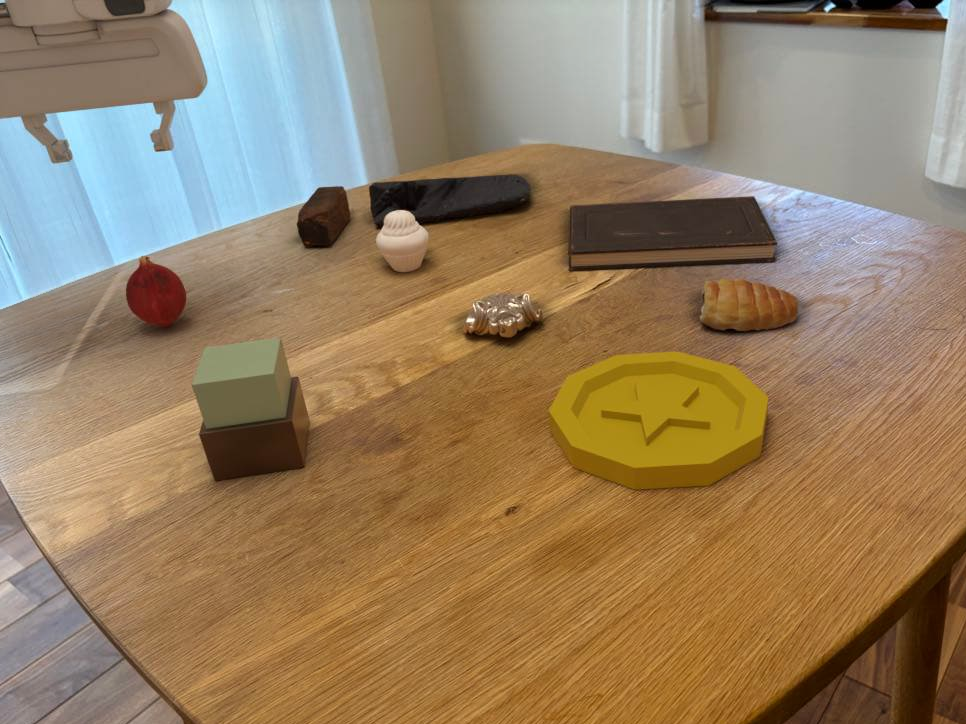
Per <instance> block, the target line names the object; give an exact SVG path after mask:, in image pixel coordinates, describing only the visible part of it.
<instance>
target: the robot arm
mask: <svg viewBox="0 0 966 724" xmlns="http://www.w3.org/2000/svg"><path fill="white" fill-rule="evenodd" d="M172 3H173V0H4V2H0V120H3V119H13V118H21V121H22V124H23V127H24V129H25V130H26V131H27V132H28V133H29V134H30V135H31V136H32V137H33V138H34V139H36V141H38V142H39V143H40V144H41V145H42V147H43V146H44V147H45V149H46V151H47V154H48V156H49V159H50V162H51V163H52V164H62V163H69V162H71V160H73V158H74V155H73V152H72V150H71V149H70V143H69V140H68V139H58V138H57V137H56V136H55V135H54V133H52V131H51V130H49V128H47V126H45V124H46V123H47V122H48V117H47V115H51V114H58V113H69V112H78V111H88V110H96V109H106V108H107V109H108V108H116V107H125V106H135V105H143V104H144V105H145V104H152V105H153V108H154V111H155V114H156V115H162V118H161V120H160V125H159V128H157V129H153V130H152V132H150V133H149V137H150V140H151V142H152V143H153V145H152V146H153V150H154V152H155V153H160V152H161V153H162V152H171V151H173V149H174V148H175V143H174V140H173V137H172V133H171V128H172V123H173V120H174V116H175V113H176V110H177V107H176V104H175V101H182V100H190V99H191V100H193V99H197V98H199V97H200V96H201V95H202V94H203V93H204V91H205V89H206V88H207V85H208V82H209V81H208V75H207V70H206V67H205V64H204V61H203V58H202V55H201V52H200V49H199V47H198V45H197V42H196V39H195V37H194V35H193V33H192V30H191V28H190V26H189V24H188V23H187V22H186V20H185V19H184V18H183V17H182V15H180V14H179V13H178V12H176V11H174V10H173V9H169V7H171V5H172Z"/></svg>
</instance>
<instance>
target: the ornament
mask: <svg viewBox="0 0 966 724" xmlns="http://www.w3.org/2000/svg"><path fill="white" fill-rule="evenodd" d="M471 305H472V308H471V310H469V313H468V314H467V316H466V319H465V321H464V323H463V326H462V331H463V333H464V334H468V333H469V334H474V333H475V335H477V336H480V337H481V336H485V335H486V334H488V333H489V334H490V335H493V336H496V335H498V334H499V336H500V337H502V338H512V337H514V336H516V335H517V334H518V332H521V331H522V330H523V329H525V328H528V329H529V328H530V327H531V326H532V323H539V322H540V321H542V320H543V318H544V314H543V310H542V309H541V308H539V309H538V310H535V309H534V308H533V305H532V300H531V296H530V294H529V293H527V292H526V293H517V294H515V295H514V294H512V293H503V292H500V293H498V294H490V295H488V296H487V297H483V298H482V299H480V300H479V299H477V300H475V301H473V302H472V304H471Z"/></svg>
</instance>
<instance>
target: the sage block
mask: <svg viewBox="0 0 966 724" xmlns="http://www.w3.org/2000/svg"><path fill="white" fill-rule="evenodd" d="M291 377H292V376H291V371H290V367H289V363H288V360H287V356H286V352H285V347H284V344H283V340H282V337H280V336H279V337H271V338H265V339H258V340H251V341H243V342H242V341H241V342H236V343H228V344H220V345H213V346H206V347H204V349H203V351H202V354H201V357H200V359H199V362H198V365H197V367H196V371H195V373H194V376H193V380H192V382H191V388H192V391H193V393H194V396H195V400H196V402H197V405H198V409H199V411H200V414H201V418H202V422H203V421H204V424H205V427H206V429H211V428H218V427H225V426H231V425H238V424H245V423H252V422H259V421H266V420H273V419H280V418H285V417H286V412H287V406H288V399H289V393H290V387H291V380H292V379H291Z"/></svg>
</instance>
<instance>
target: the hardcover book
mask: <svg viewBox="0 0 966 724" xmlns="http://www.w3.org/2000/svg"><path fill="white" fill-rule="evenodd" d="M568 221H569V225H568V242H567V243H568V245H567V255H568V256H569V257H568V271H570V272H573V271H574V272H575V271H576V272H577V271H595V270H596V271H597V270H598V271H599V270H617V269H641V268H642V269H643V268H663V267H684V266H707V265H709V266H710V265H728V264H729V265H732V264H752V263H754V264H755V263H773V262H777V258H776V256H775V254H774V253H775V252H776V250H775V246H778V241H777V238H776V237H775V235H774V233H773V231H772V229H771V226H770V225H769V223H768V221H767V219H766V217H765V215H764V213H763V211H762V209H761V207H760V205H759V203H758V201H757V199H756V197H755V196H754V195H749V196H748V195H747V196H729V197H728V196H727V197H711V198H709V197H707V198H693V199H692V198H691V199H690V198H689V199H688V198H687V199H670V200H650V201H630V202H610V203H591V204H589V203H588V204H573V205H572V204H571V205H570V207H569V220H568Z"/></svg>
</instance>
